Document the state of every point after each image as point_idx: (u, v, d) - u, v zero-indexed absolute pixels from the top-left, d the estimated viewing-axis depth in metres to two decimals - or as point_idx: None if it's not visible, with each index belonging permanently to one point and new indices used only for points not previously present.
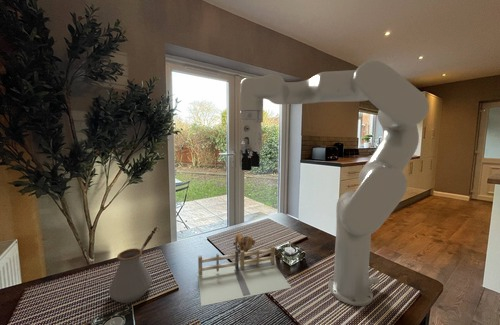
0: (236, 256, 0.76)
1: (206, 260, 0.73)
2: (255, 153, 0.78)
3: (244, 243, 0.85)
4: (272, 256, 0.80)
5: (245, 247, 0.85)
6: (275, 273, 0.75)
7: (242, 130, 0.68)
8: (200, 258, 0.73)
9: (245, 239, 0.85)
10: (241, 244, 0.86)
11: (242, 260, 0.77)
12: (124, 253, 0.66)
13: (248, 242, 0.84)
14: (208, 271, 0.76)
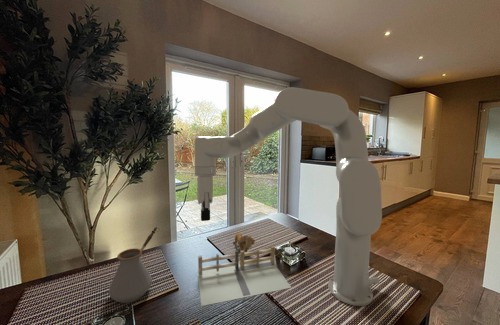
0: (236, 256, 0.76)
1: (206, 260, 0.73)
2: None
3: (244, 242, 0.85)
4: (272, 256, 0.80)
5: (245, 246, 0.85)
6: (275, 273, 0.75)
7: None
8: (200, 258, 0.73)
9: (245, 238, 0.85)
10: (241, 243, 0.86)
11: (242, 260, 0.77)
12: (124, 253, 0.66)
13: (248, 241, 0.85)
14: (208, 271, 0.76)
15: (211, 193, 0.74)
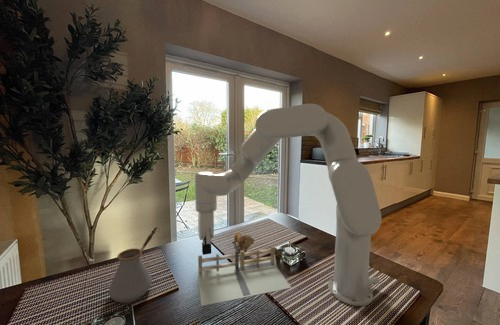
0: (236, 256, 0.76)
1: (206, 260, 0.73)
2: None
3: (243, 242, 0.86)
4: (272, 256, 0.80)
5: (244, 246, 0.86)
6: (275, 273, 0.75)
7: None
8: (200, 258, 0.73)
9: (244, 238, 0.86)
10: (240, 243, 0.87)
11: (242, 260, 0.77)
12: (124, 253, 0.66)
13: (247, 241, 0.85)
14: (208, 271, 0.76)
15: (212, 229, 0.75)
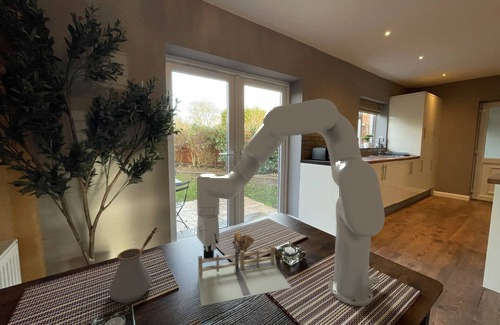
0: (236, 256, 0.76)
1: (206, 260, 0.73)
2: None
3: (243, 241, 0.86)
4: (272, 256, 0.80)
5: (244, 245, 0.86)
6: (275, 273, 0.75)
7: None
8: (200, 259, 0.72)
9: (244, 238, 0.86)
10: (240, 243, 0.87)
11: (242, 260, 0.77)
12: (124, 253, 0.66)
13: (247, 240, 0.85)
14: (208, 271, 0.76)
15: (218, 234, 0.72)
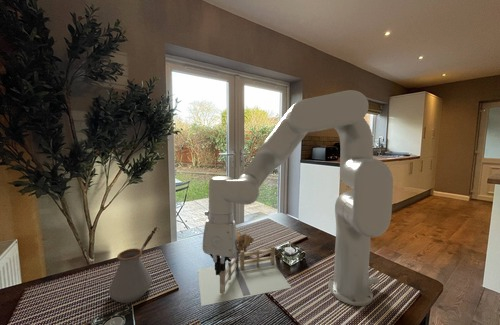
0: (237, 256, 0.76)
1: (226, 273, 0.67)
2: None
3: (242, 241, 0.86)
4: (272, 256, 0.80)
5: (243, 245, 0.86)
6: (275, 273, 0.75)
7: None
8: (224, 273, 0.64)
9: (243, 237, 0.87)
10: (239, 242, 0.87)
11: (242, 260, 0.77)
12: (124, 253, 0.66)
13: (246, 240, 0.86)
14: (208, 271, 0.76)
15: None
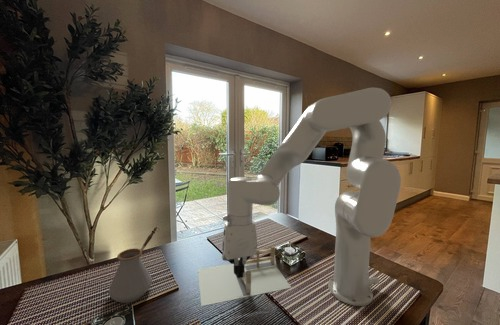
0: None
1: None
2: (242, 258, 0.67)
3: None
4: (272, 256, 0.80)
5: None
6: (275, 273, 0.75)
7: None
8: None
9: None
10: None
11: None
12: (124, 253, 0.66)
13: None
14: (208, 271, 0.76)
15: None
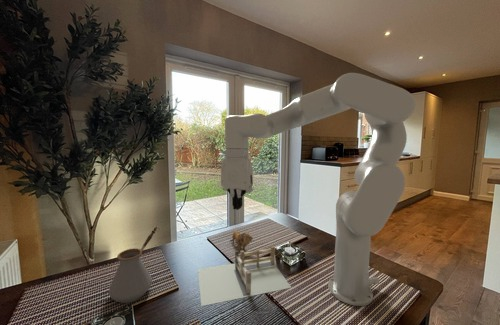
0: None
1: None
2: None
3: (242, 240, 0.87)
4: (272, 256, 0.80)
5: (243, 243, 0.87)
6: (275, 273, 0.75)
7: None
8: None
9: (243, 236, 0.88)
10: (239, 241, 0.88)
11: (242, 260, 0.77)
12: (124, 253, 0.66)
13: (246, 238, 0.87)
14: (208, 271, 0.76)
15: (252, 175, 0.71)
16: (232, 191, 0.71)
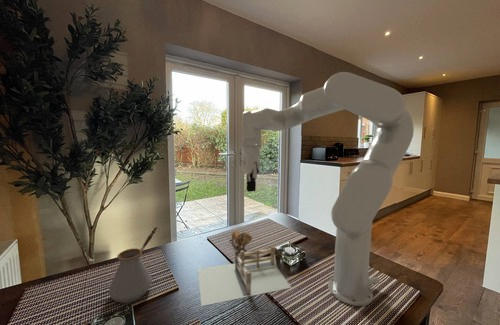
0: None
1: None
2: None
3: (241, 239, 0.88)
4: (272, 256, 0.80)
5: (242, 243, 0.88)
6: (275, 273, 0.75)
7: None
8: None
9: (242, 235, 0.88)
10: (238, 240, 0.89)
11: (242, 260, 0.77)
12: (124, 253, 0.66)
13: (245, 238, 0.87)
14: (208, 271, 0.76)
15: (259, 164, 0.79)
16: (247, 175, 0.85)
